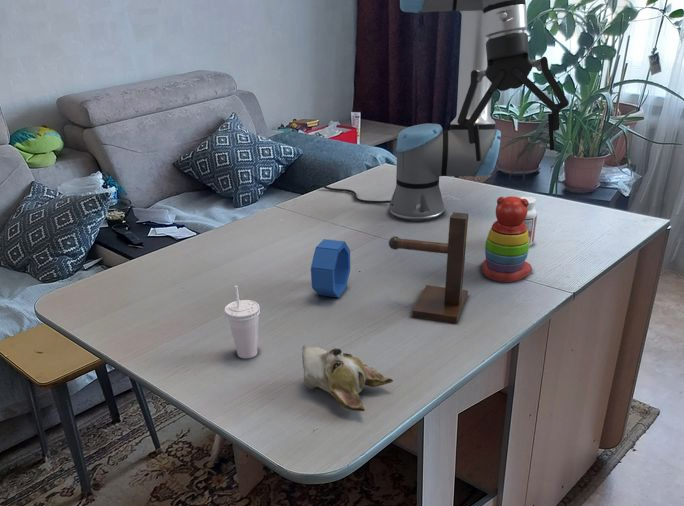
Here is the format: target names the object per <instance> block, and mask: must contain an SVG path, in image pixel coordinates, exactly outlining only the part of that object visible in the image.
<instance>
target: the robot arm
mask: <svg viewBox="0 0 684 506" xmlns="http://www.w3.org/2000/svg"><path fill="white" fill-rule="evenodd" d="M526 2H527V1H526V0H399V8H400V10H401V11H402V12H404V13H415V14H419V13H433V12H459V13H460V14H461V20H460V21H461V23H460V40H459V41H460V42H459V62H458V82H457V100H456V101H457V102H456V116H455V117H454V118H453V120H452V121H451V122H450V126H449V130H443V127H442V125H441V124H439V123H431V122H429V123H421V124H415V125H412V126H408V127H405V128H404V129H402V130H401V131H400V132H399V133H398V134H397V140H396V148H395V152H396V174H395V175H396V176H395V177H396V179H395V180H396V182H395V188H394V191H393V194H392V197H391V200H390V199H389V200H371V199H370V200H367V199H362V198H359V197H358V196H357V193H356V191H355V190H352V189H349V188H335V187H329V186H327V185H325V184H322V183H313V184H311V185H310V186H309V187H308V188H309V189H312V188H314V187H320V188H323V189H325V190H329V191H334V192H347V193H351V194H353V198H354V200H356V201H357V202H360V203H365V204H389V207H388V209H389V210H388V213H389V215H390V216H391V217H392V218H394V219H397V220H399V221H403V222H411V223H422V222H423V223H424V222H431V221H435V220H437V219H440V218H441V217H443V216H444V214H445V203H444V201H443V195H442V192H441V188H440V177H473V178H476V177H487V176H490V175H491V174H492V173H493V172H494V171H495V167H496V165H497V161H498V157H499V152H500V147H501V139H502V132H501V130H499V129H497V128H496V123H497V122H496V121H494V119H493V118H492V117H491V109H492V97H493V96H494V95H495V93H496V91H497V90H498V91H500V92H505V91H508V90H510V89H513V90H516V89H520V88H521V87H522V86H523V85H524V86H525V87H526V88H527V89H528V90H529V91H530V92H531V93H532V94H533V95H534V96H535V97H537V99H538V100H539V101H541V102H542V104H544V105H545V106H546V107H547V108H548V109H549V110H550V111H551V113H547V122H548V140H549V142H548V143H549V151H555V137H554V132H557V131H559V130H560V112H561V110H563V109H565V108H567V107H568V106H569V105H570V101H569V100H568V98H567V96H566V95H565V93H564V91H563V90H562V88H561V86H560V85H559V83H558V81H557V80H556V78H555V77H554V75H553V72H551V70H550V68H549V67H550V65H549V61H548V58H547V57H546V56H542V57H541V58H539V59H534V60H531V57H530V47H529V34H528V33H527V32H525V31H526V30H527V29H528V13H527V11H528V10H527V4H526ZM533 68H535V69H536V70H537V72H542V75H543V77H544V79H545V80H546V82H547V83H548V85H549V87H550V88H551V90H552V91H553V93H554V95H555V97H556V98H557V100H558V102H559V103H555V102H554V101H553V100H552V99H551V98H550V97H549V96H548V95H547V94H545V92H543V90H541V88H539V87H538V86H537V85H536V84H535V83H534V82H533V81H532V80H531V79H530V78H529V75H530V73H531V71H532V70H533Z"/></svg>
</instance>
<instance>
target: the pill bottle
mask: <svg viewBox="0 0 684 506" xmlns="http://www.w3.org/2000/svg"><path fill="white" fill-rule="evenodd" d="M519 198H521V199H527V200H528V202H529V205H528V206H527V210H528V211H527V216H526V218H525V220H524V221H523V223H524V224H525V225H526V227H527V230H528V235H529V247H530V246H532V245H533V244H534V241H535V234H536V227H537V219H538V210H537V209H536V204H537V203H536V202H537V199H535V198H534V197H531V196H519Z"/></svg>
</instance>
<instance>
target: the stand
mask: <svg viewBox="0 0 684 506" xmlns="http://www.w3.org/2000/svg"><path fill="white" fill-rule="evenodd" d="M468 223H469V213H466V212H455V211H454V212H451V214H450V217H449V225H448V240H447V242H446V243H445V242H437V241H429V240H428V241H427V240H418V239H408V238H400V237H398V236H392V237H390V239H388V246H389V248H390V249H392V250H398V249H399V250H409V251H417V252H418V251H419V252H427V253H436V254H444V255H445V254H446V255H447V256H446V268H445V269H446V272H445V284H444V285H445V287H444V286H437V285H428V284H427V285H425V287H424V288H423V290H422V292H421V294H420V296H419V297H418V300H417V302H416V303H415V305H414V307H413V308H412V313H411V316H412V318H417V319H423V320H431V321H437V322H445V323H450V324H451V323H452V324H457V323H458V321H459V318H460V316H461V313H462V311H463V309H464V306H465V303H466V301H467V298H468V296H469V295H468V294H469V290H468V289H463V288H464V287H463V286H464V276H465V275H464V274H465V262H466V250H467V249H466V248H467V237H468V226H469V225H468Z"/></svg>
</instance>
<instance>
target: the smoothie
mask: <svg viewBox="0 0 684 506" xmlns="http://www.w3.org/2000/svg"><path fill="white" fill-rule="evenodd" d="M234 293H235V300H234V301H232V302H230V303H228V304H226V305H225V307H224V316H225V318H226V319H227V321H228V325H229V329H230V332H231V336H232V339H233V344H234V346H235V350H236V354H237V356H238V357H239V358H241V359H252V358H254V357H255V356H257V355H258V345H259V341H258V339H259V315H260V313H261V308H260V304H259V303H258V302H256V301H255V300H251V299H240V294H239V293H240V292H239V286H238V285H234Z"/></svg>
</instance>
